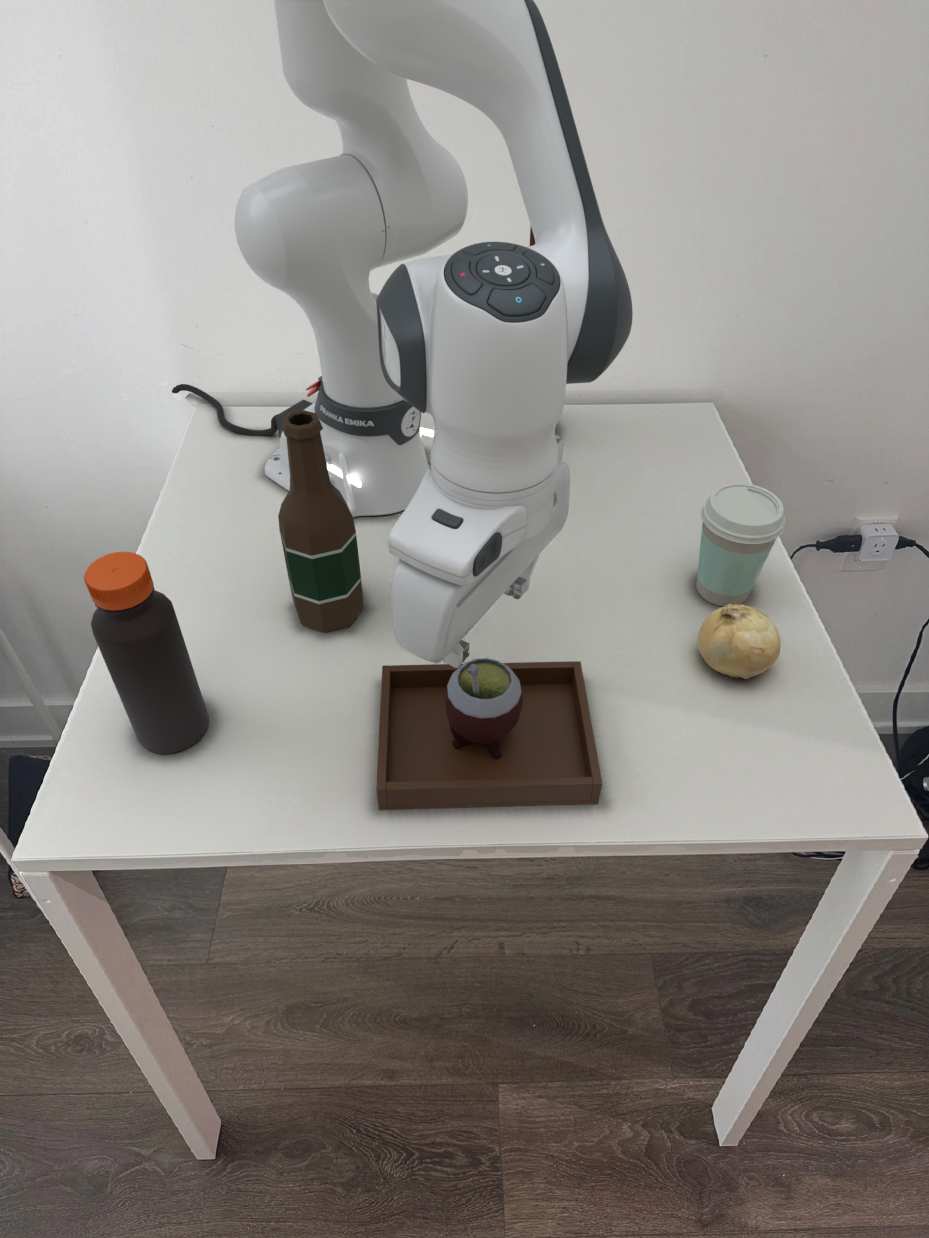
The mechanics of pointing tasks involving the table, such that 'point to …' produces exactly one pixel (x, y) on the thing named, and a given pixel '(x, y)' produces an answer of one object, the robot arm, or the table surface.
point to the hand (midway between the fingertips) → (486, 624)
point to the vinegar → (145, 653)
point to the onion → (739, 641)
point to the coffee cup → (736, 540)
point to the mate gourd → (483, 704)
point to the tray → (469, 776)
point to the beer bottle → (318, 533)
